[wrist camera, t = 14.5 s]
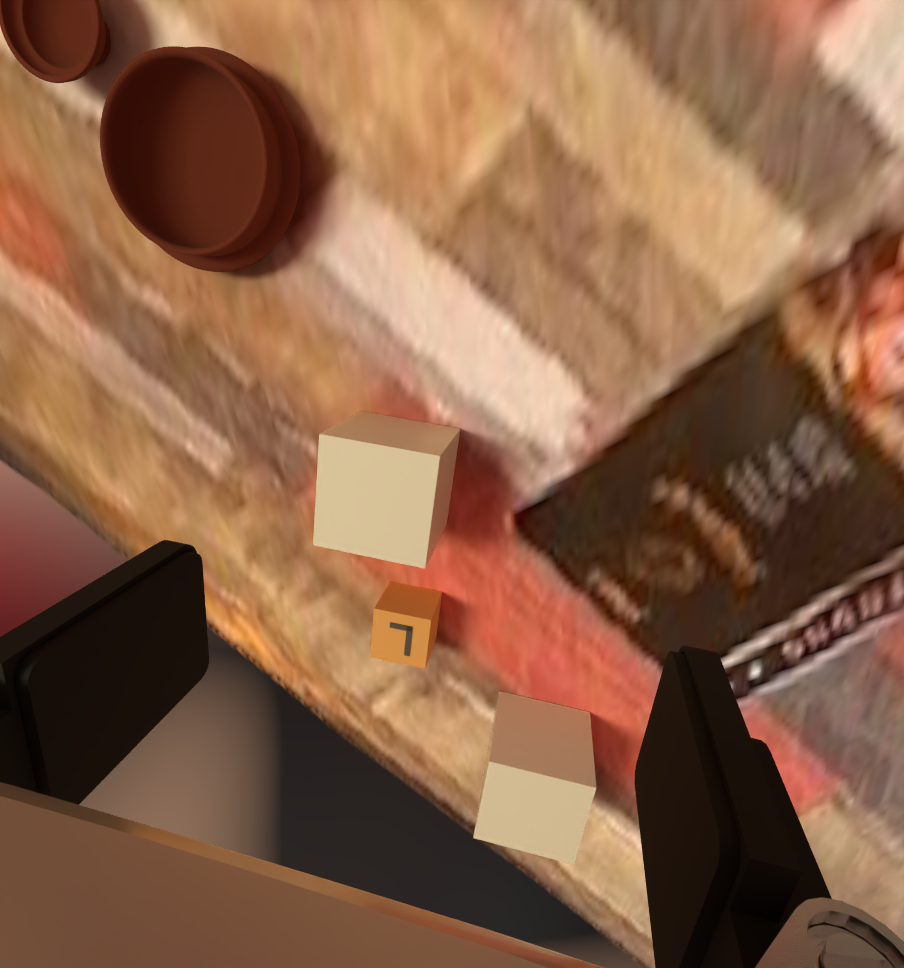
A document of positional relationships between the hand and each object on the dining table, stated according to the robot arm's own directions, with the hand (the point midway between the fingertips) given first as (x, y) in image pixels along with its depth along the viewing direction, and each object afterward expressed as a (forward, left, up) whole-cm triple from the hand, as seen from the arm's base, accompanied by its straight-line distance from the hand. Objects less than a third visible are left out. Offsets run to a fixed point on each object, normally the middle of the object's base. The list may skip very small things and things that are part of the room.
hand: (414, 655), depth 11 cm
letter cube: (+5, +16, -27) cm, 32 cm away
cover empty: (-6, +25, -27) cm, 37 cm away
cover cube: (+7, +5, -27) cm, 28 cm away
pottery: (+24, -14, -27) cm, 39 cm away
